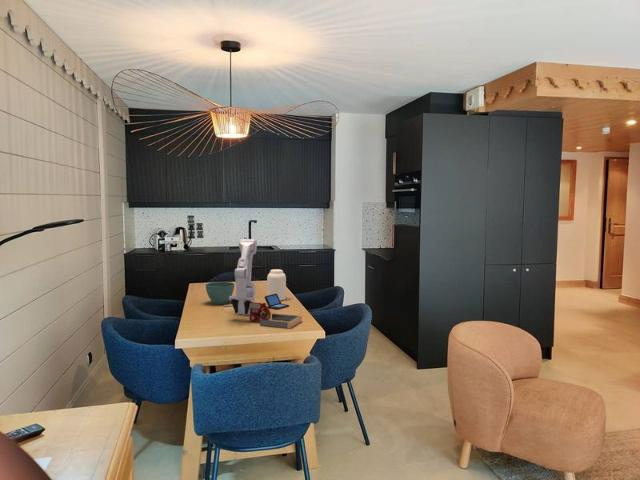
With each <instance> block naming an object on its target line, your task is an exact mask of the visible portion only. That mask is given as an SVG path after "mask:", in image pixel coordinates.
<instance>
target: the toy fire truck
mask: <svg viewBox="0 0 640 480" xmlns="http://www.w3.org/2000/svg"><path fill="white" fill-rule="evenodd" d="M249 307H250V315H249V318H248V319H249V321H250V323H255V322H256V321H258V323H260V320H261V319H264V320H271V319H272V313H271V309H269V308H268V305H267V302H263V303H262V302H254V301H253V302H250V303H249Z"/></svg>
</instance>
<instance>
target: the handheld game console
mask: <svg viewBox="0 0 640 480" xmlns="http://www.w3.org/2000/svg"><path fill="white" fill-rule="evenodd" d="M264 300H265V303H266V306H268V308H269V310H275V311H276V310H277V311H279V310H283V309H284V308H289V307H290V304H285V303H282V300H281V301H280V300H279V297H278V295H277V294H272V295H268V296H267V295H264Z"/></svg>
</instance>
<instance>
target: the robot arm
mask: <svg viewBox="0 0 640 480" xmlns="http://www.w3.org/2000/svg"><path fill="white" fill-rule="evenodd" d="M257 243H258V242H257V239H256V238H240V239H239V241H238V248H239V252H240V254H241V256H240V257H239V259H238V260H237V267H236V268H235V269H234V280H235V295H232V296H229V301H230V303H231V305H232V308H233V310H234V311H233V312H234V314H235V315H242V316H245V315H246V316H250V307H249V303H250V302H254V301H255V296H256V285H255V284H254V283H253V282H252V268H253V267H252V266H253V258H254V255H256V253H257Z"/></svg>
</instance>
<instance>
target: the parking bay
mask: <svg viewBox="0 0 640 480" xmlns="http://www.w3.org/2000/svg"><path fill="white" fill-rule="evenodd" d="M301 322H303V316H302V315H296V314H295V315H294V314H285V313H283V314H282V313H271V319H269V320H264V319H261V320H260V322H259V326H263V327H271V328H281V329H282V328H283V329H292V328H293V327H295V326H298V325H299V324H300V323H301Z"/></svg>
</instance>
